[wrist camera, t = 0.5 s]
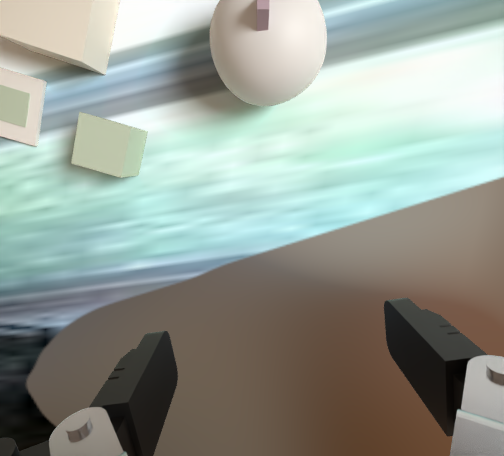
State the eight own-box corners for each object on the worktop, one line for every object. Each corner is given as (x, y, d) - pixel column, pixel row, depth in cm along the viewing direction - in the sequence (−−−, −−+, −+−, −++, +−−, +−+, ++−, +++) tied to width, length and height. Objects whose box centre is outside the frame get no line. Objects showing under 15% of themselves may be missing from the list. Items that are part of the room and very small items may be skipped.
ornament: (201, 34, 33) (172, -35, 21) (291, -11, 32) (314, -109, 20) (241, 127, 35) (235, 112, 23) (327, 87, 34) (367, 51, 22)
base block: (44, -32, 32) (7, -66, 27) (122, -5, 32) (99, -34, 28) (32, 51, 34) (-6, 33, 29) (106, 75, 34) (81, 61, 29)
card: (-10, 64, 34) (-15, 63, 33) (46, 81, 34) (43, 80, 33) (-17, 130, 35) (-21, 130, 34) (37, 146, 35) (34, 146, 35)
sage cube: (103, 118, 35) (79, 111, 30) (148, 131, 35) (131, 127, 30) (95, 162, 36) (71, 163, 31) (138, 175, 36) (121, 177, 31)
